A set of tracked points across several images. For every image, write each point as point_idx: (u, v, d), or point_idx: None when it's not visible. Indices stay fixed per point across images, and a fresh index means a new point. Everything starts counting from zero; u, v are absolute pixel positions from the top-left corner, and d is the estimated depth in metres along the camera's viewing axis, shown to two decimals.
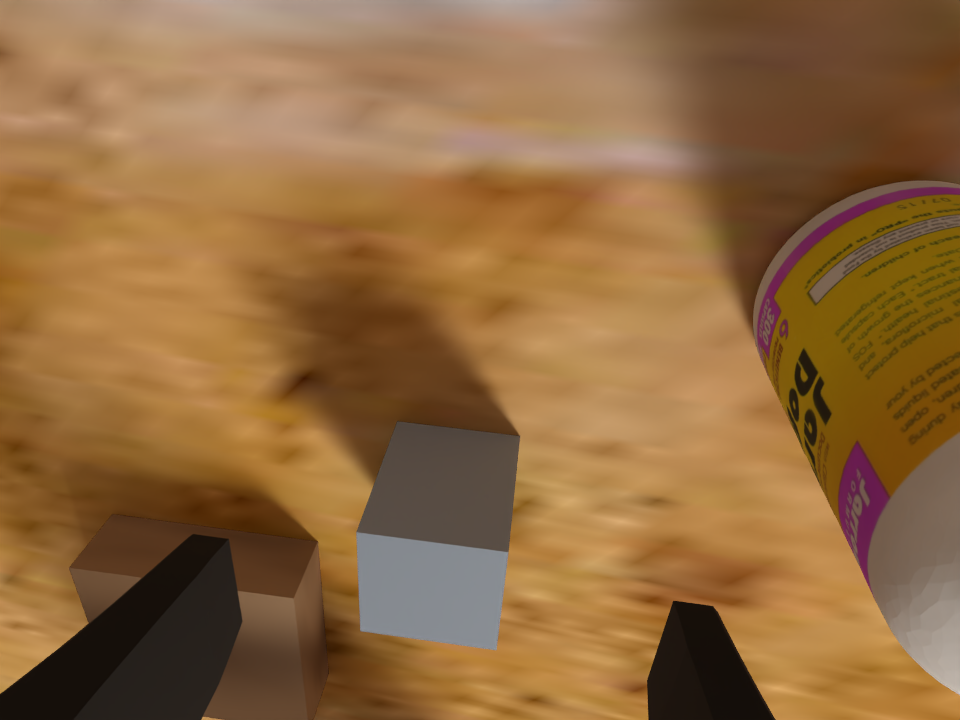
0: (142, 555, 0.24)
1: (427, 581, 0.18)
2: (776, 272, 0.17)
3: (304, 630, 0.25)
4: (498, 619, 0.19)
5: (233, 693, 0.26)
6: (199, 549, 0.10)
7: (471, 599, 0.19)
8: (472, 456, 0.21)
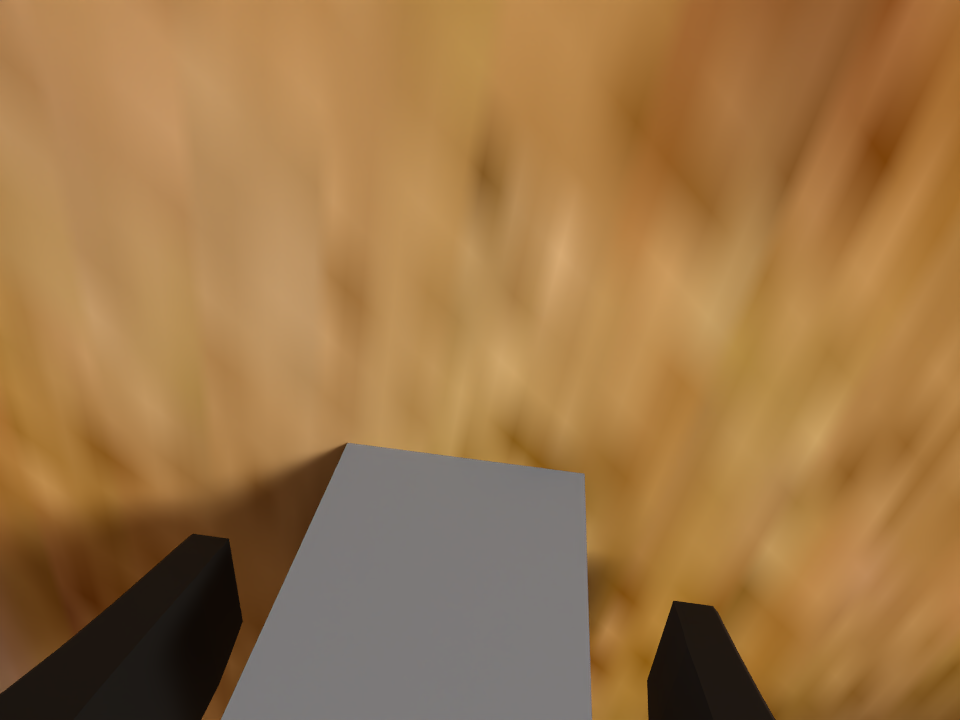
0: None
1: None
2: None
3: None
4: None
5: None
6: (199, 549, 0.10)
7: None
8: None
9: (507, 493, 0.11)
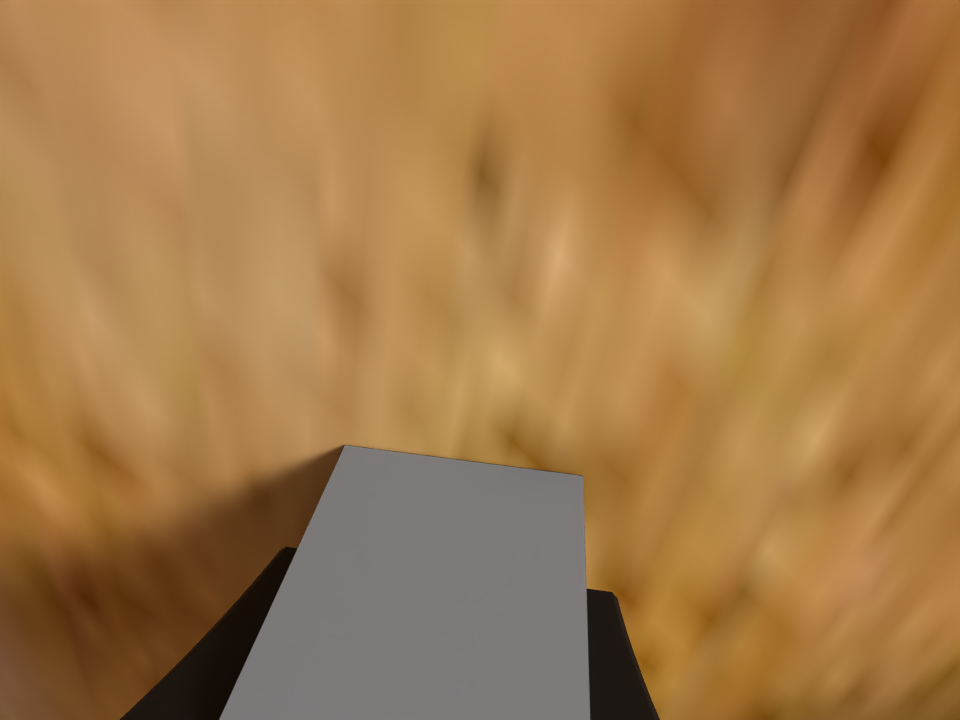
0: None
1: None
2: None
3: None
4: None
5: None
6: None
7: None
8: None
9: (505, 497, 0.11)
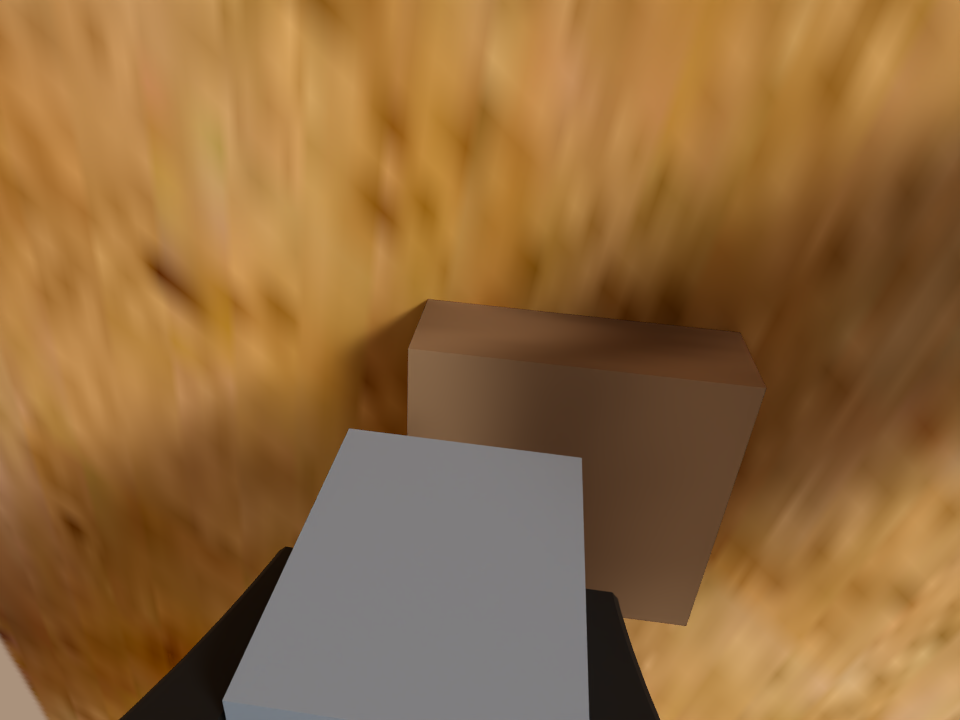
0: None
1: None
2: None
3: (517, 347, 0.16)
4: None
5: (653, 478, 0.17)
6: None
7: None
8: None
9: (506, 477, 0.11)
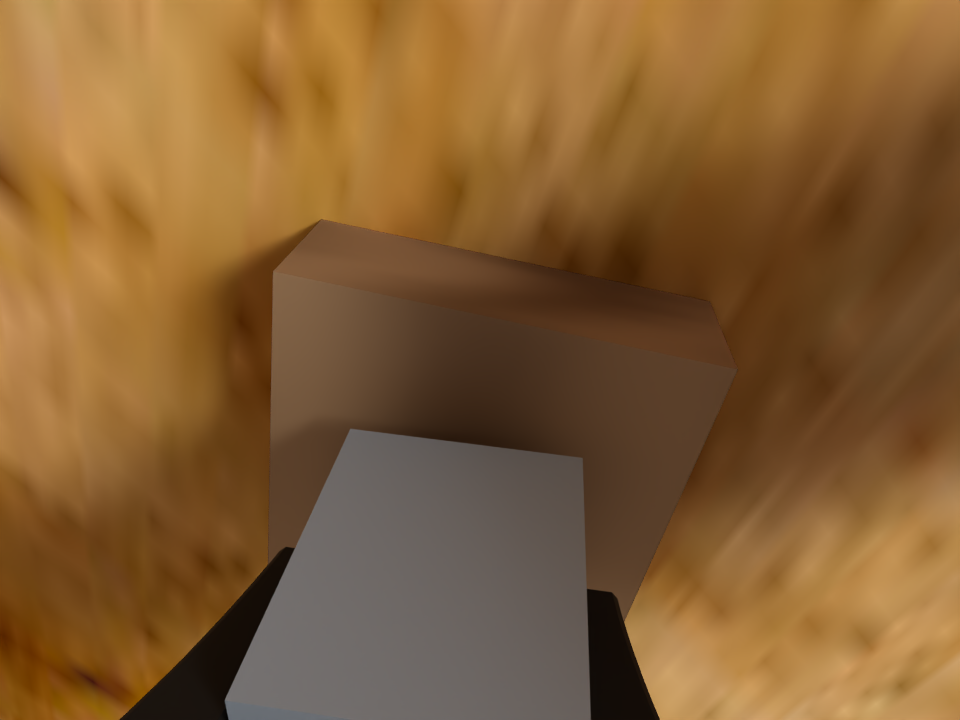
0: None
1: None
2: None
3: (422, 286, 0.12)
4: None
5: None
6: None
7: None
8: None
9: (507, 478, 0.11)
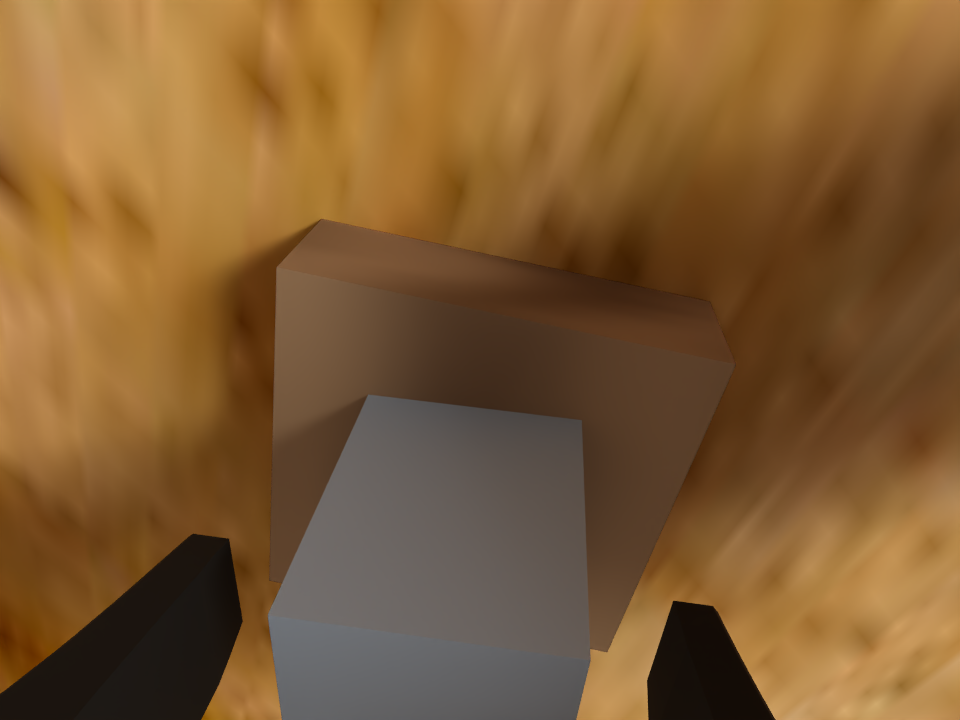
0: None
1: None
2: None
3: (423, 282, 0.12)
4: (480, 647, 0.08)
5: None
6: (199, 549, 0.10)
7: (424, 679, 0.09)
8: None
9: (512, 436, 0.12)
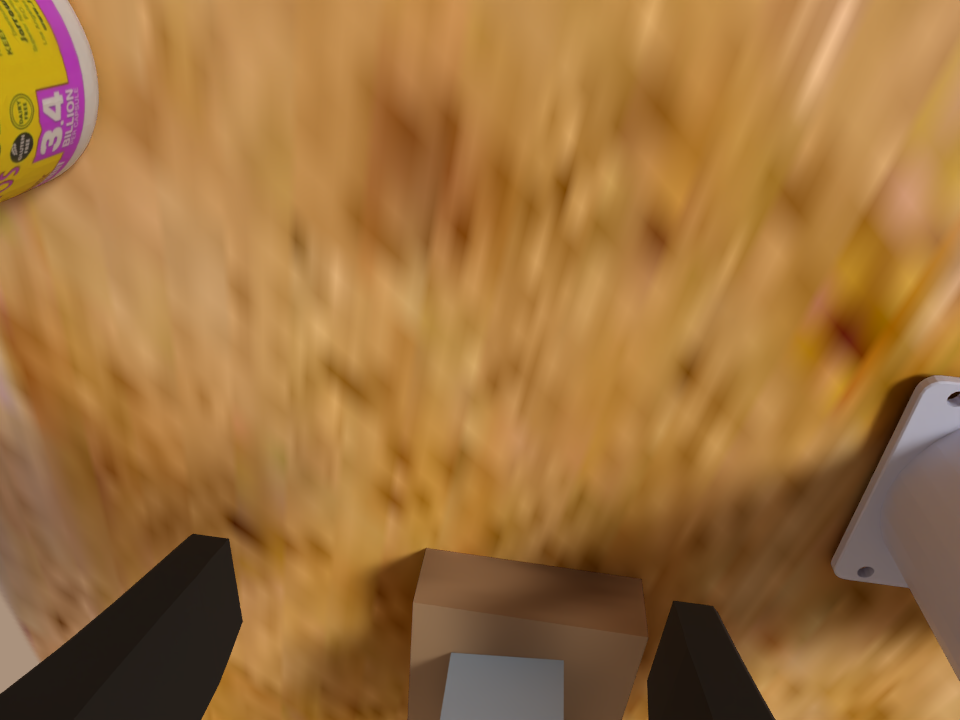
0: None
1: None
2: None
3: (486, 599, 0.23)
4: None
5: (578, 681, 0.24)
6: (199, 549, 0.10)
7: None
8: None
9: (527, 677, 0.23)
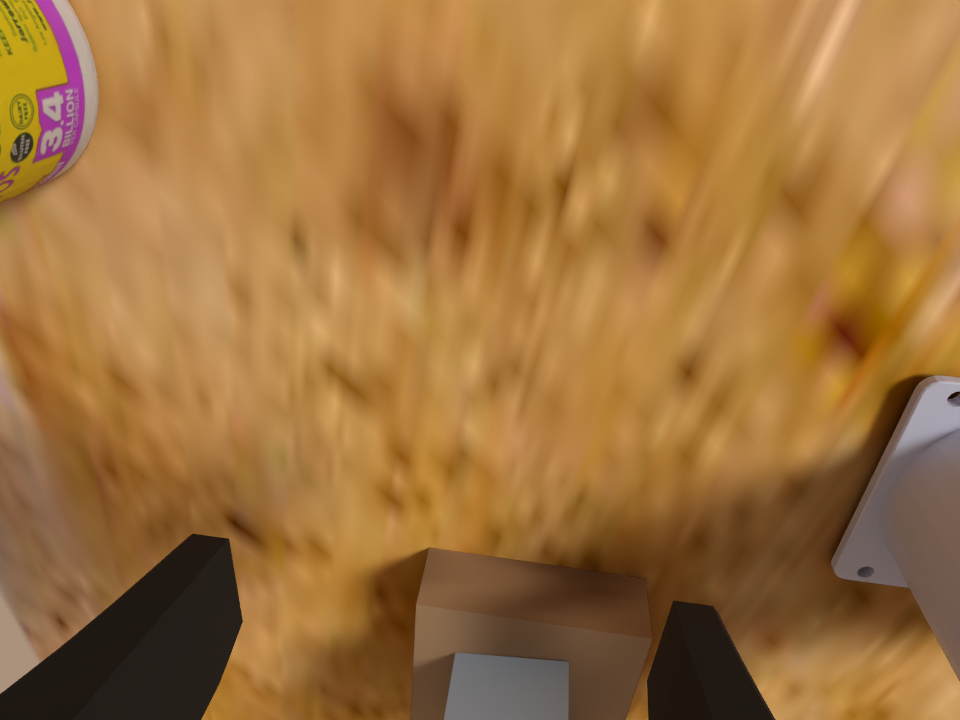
0: None
1: None
2: None
3: (489, 600, 0.23)
4: None
5: (581, 682, 0.24)
6: (199, 549, 0.10)
7: None
8: None
9: (532, 678, 0.23)
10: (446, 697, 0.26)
